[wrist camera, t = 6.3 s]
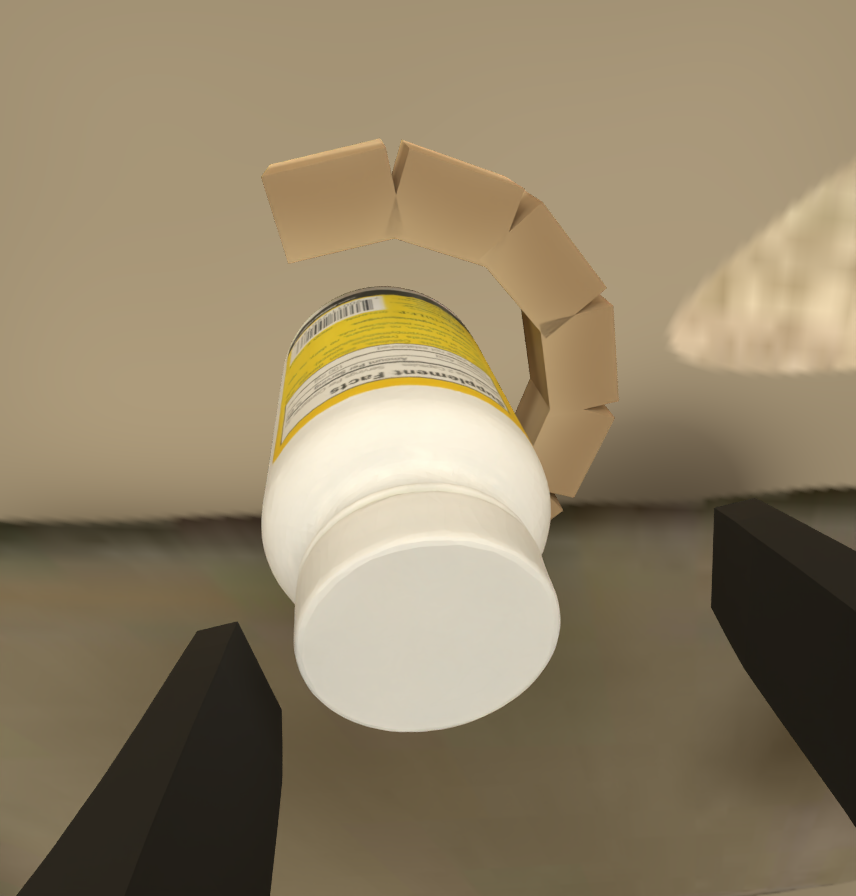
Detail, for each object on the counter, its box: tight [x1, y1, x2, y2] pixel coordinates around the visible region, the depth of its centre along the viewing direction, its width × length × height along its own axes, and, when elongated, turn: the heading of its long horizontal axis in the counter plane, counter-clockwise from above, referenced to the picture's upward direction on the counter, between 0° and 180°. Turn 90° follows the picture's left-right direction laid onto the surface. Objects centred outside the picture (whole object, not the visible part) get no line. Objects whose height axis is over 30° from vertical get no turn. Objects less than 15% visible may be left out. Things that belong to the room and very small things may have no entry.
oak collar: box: [261, 139, 619, 520], centre depth 17 cm, size 7×12×2 cm, turn 12°
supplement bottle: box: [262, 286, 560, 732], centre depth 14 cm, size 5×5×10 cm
